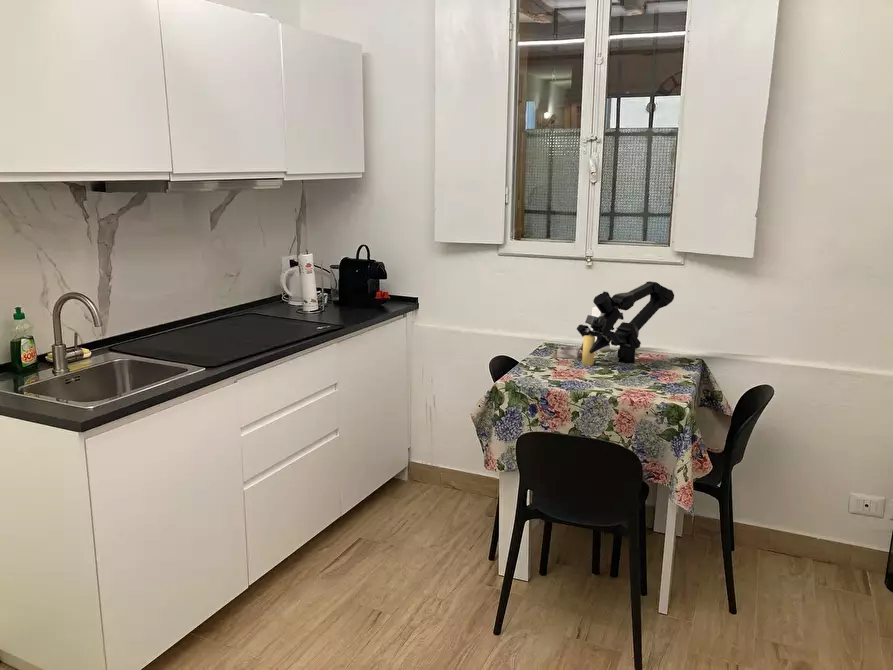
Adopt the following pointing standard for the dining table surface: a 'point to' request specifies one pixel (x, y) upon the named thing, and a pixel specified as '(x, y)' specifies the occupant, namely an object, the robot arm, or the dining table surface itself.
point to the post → (587, 345)
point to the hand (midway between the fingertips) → (585, 351)
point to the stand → (568, 353)
